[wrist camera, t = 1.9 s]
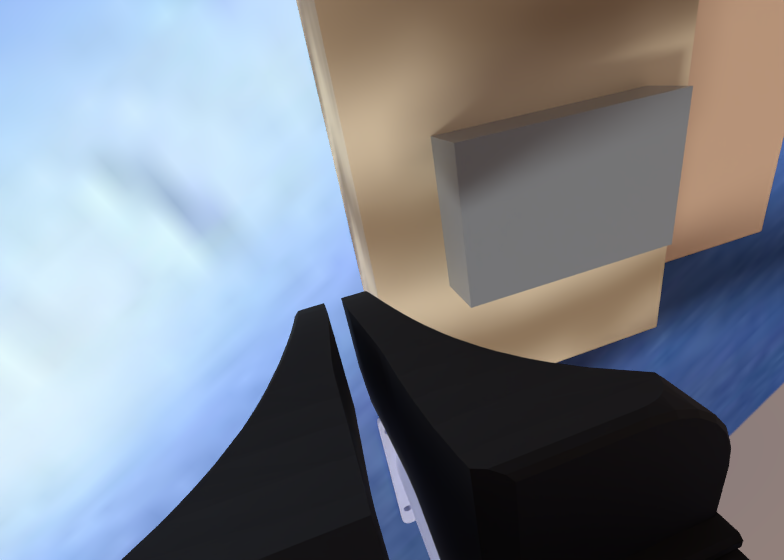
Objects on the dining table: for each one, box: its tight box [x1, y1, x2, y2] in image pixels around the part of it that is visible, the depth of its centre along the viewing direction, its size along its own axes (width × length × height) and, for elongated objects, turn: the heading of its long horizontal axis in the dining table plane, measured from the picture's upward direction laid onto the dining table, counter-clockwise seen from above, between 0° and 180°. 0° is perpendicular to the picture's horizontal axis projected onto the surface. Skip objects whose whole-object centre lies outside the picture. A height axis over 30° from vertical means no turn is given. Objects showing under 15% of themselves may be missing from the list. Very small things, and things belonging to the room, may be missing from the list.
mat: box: [665, 0, 784, 262], centre depth 23 cm, size 16×11×1 cm
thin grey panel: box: [431, 86, 693, 308], centre depth 16 cm, size 6×9×2 cm, turn 100°
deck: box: [296, 0, 699, 363], centre depth 19 cm, size 18×14×4 cm
